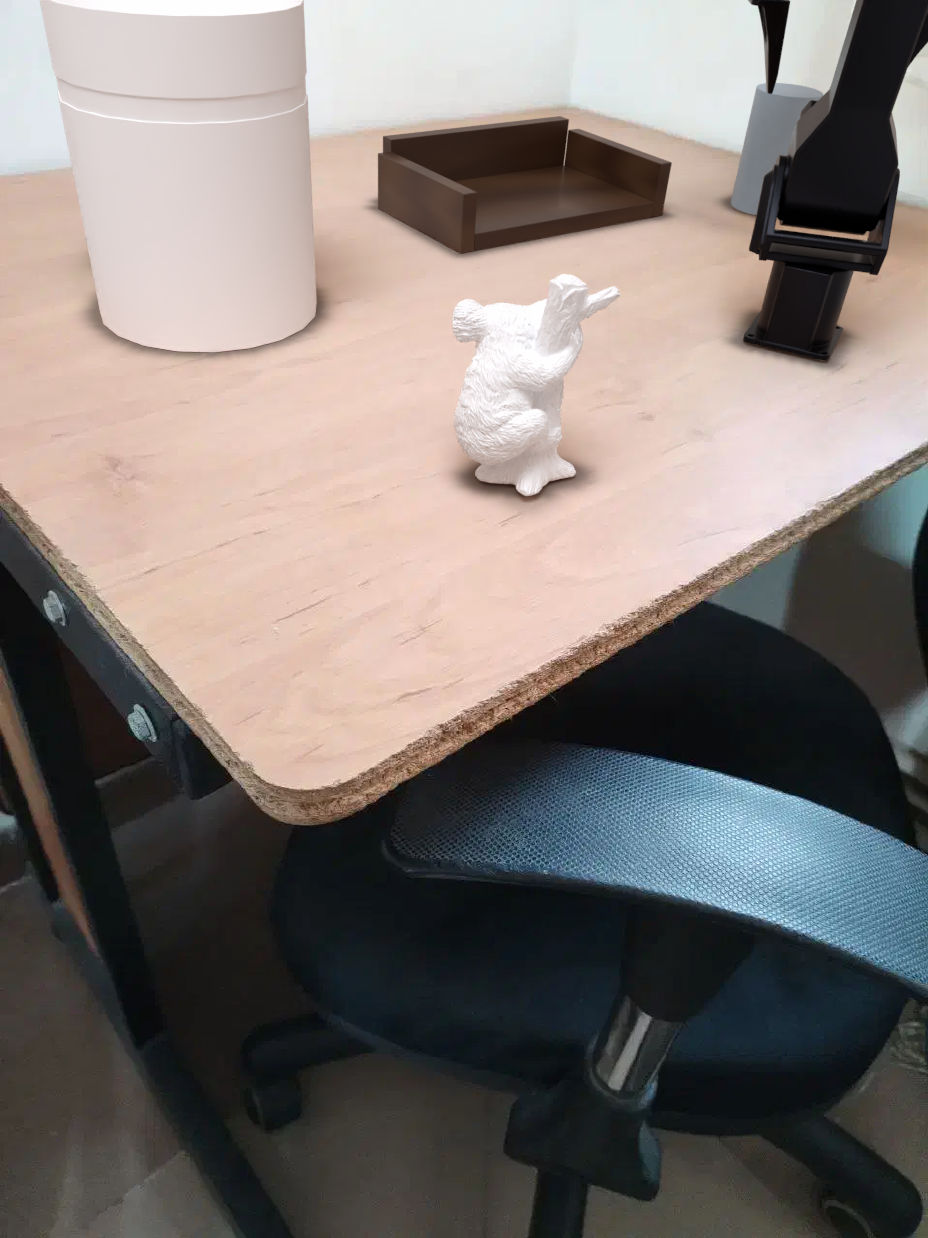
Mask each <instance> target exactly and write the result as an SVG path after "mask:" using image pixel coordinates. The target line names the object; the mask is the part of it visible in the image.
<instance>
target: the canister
mask: <svg viewBox="0 0 928 1238" xmlns="http://www.w3.org/2000/svg"><path fill="white" fill-rule="evenodd" d="M39 3H40V5H39V6H40V9H41V14H42V21H43V25H44V31H45V35H46V40H47V45H48V46H47V47H48V51H49V56H50V61H51V66H52V70H53V72H54V76H55V78H56V83H57V88H58V91H57V97H58V102H59V108H60V114H61V118H62V123H63V128H64V134H65V139H66V145H67V149H68V153H69V159H70V164H71V170H72V174H73V179H74V185H75V186H74V187H75V190H76V195H77V201H78V206H79V211H80V216H81V221H82V227H83V232H84V236H85V237H84V238H85V242H86V247H87V252H88V258H89V262H90V268H91V273H92V278H93V284H94V289H95V293H96V298H97V303H98V308H99V313H100V317H101V320H102V324H103V326H105V327H106V328H107V329H108V330H110V331H111V332H112V333H114V334H115V335H116V336H118V337H119V338H122V339H125V340H127V341H130V342H133V343H135V344H138V345H140V346H143V347H149V348H154V349H161V350H166V351H173V352H184V353H185V352H186V353H188V352H189V353H220V352H221V353H222V352H229V351H236V350H238V351H239V350H247V349H254V348H257V347H261V346H265V345H268V344H272V343H276V342H280V341H282V340H284V339H286V338H288V337H290V336H292V335H295V334H296V333H299V332H300V331H302V330H304V329H305V328H306V327H307V326H308V325H309V323H311V322H312V321H313V320H314V318H315V317H316V314H317V307H318V306H317V304H318V298H317V279H316V256H315V254H316V253H315V232H314V231H315V229H314V210H313V207H314V205H313V186H312V185H313V184H312V161H311V141H310V118H309V96H308V93H307V85H306V83H307V82H306V81H307V79H306V76H307V73H308V72H307V71H308V70H307V47H306V25H305V3H304V0H39Z"/></svg>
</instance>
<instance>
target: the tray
mask: <svg viewBox="0 0 928 1238" xmlns="http://www.w3.org/2000/svg"><path fill="white" fill-rule="evenodd" d="M569 123H570V119H569V118H566V117H564V116H561V115H557V116H549V117H541V118H540V117H539V118H531V119H521V120H514V121H513V120H512V121H505V122H496V123H487V124H477V125H470V126H462V127H461V126H459V127H451V128H443V129H433V130H425V131H416V132H407V133H398V134H389V135H383V136H382V152H378V153H377V209H378V210H380V211H382V212H384V213H386V214H388V215H390V216H391V217H393V218H395V219H397V220H399V221H401V222H402V223H404V224H406V225H407V226H410V227H412V228H413V229H415V230H417V231H418V232H421V233H422V234H424V235H426V236H428V237H429V238H431V239H433V240H435V241H437V242H438V243H441V244H442V245H444V246H446V247H448V248H450V249H452V250H453V251H455V252H457V253H459V254H464V253H470V252H476V251H481V250H486V249H492V248H496V247H497V248H498V247H502V246H509V245H513V244H518V243H524V242H528V241H529V242H530V241H533V240H539V239H544V238H549V237H555V236H560V235H566V234H571V233H576V232H582V231H587V230H593V229H597V228H603V227H607V226H614V225H619V224H623V223H624V224H625V223H629V222H634V221H639V220H644V219H645V220H646V219H649V218H654V217H660V216H663V214H664V207H665V202H666V197H667V190H668V186H669V179H670V174H671V168H672V164H673V163H672V161H669V160H666V159H664V158H661V157H659V156H655V155H652V154H651V153H647V152H644V151H641V150H639V149H636V148H633V147H631V146H628V145H625V144H622V143H619V142H617V141H614V140H611V139H609V138H605V137H604V136H601V135H597V134H595V133H592V132H589V131H586V130H584V129H581V128H572V129H569Z"/></svg>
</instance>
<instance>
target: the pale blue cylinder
mask: <svg viewBox="0 0 928 1238" xmlns="http://www.w3.org/2000/svg"><path fill="white" fill-rule="evenodd" d="M823 95H824V93H823V91H821V90H819V89H817V88H814V87H809V86H806V85H801V84H800V85H799V84H793V83H783V82H776V84H775V87H774V90H773V93H772V94H768V93H767V91H766V82H765V83H759V84H758V85H756V87H755V92H754V96H753V101H752V105H751V109H750V114H749V118H748V123H747V128H746V131H745V136H744V141H743V146H742V149H741V154H740V159H739V163H738V168H737V173H736V176H735V181H734V186H733V189H732V194H731V199H730V206H731V207H732V208H734V209H735V210H737V211H739V212H742V213H745V214H748V215H753V216H756V214H757V209H758V204H759V198H760V193H761V188H762V183H763V178H764V176H765V175H766V174H767V173H768V172H770V171H771V170H772V168H773V165H774V164H776V161H777V158H778V155H786V156H787V152H788V149H789V146H790V142H791V139H792V136H793V132H794V129H795V126H796V123H797V121H798V120H799V117H800V113H801V111H802V110H803V109H804V107H805V106H806V105H807V104H808V102H809V101H810V100H814V101H818V100H819V99H820V98H821V97H822V96H823Z"/></svg>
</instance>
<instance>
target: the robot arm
mask: <svg viewBox="0 0 928 1238" xmlns="http://www.w3.org/2000/svg"><path fill="white" fill-rule="evenodd" d="M747 1H748V2H749V4H750V5H752V6H757V9H758V13H759V17H760V23H761V29H762V36H763V51H764V52H763V53H764V70H765V83H766V91H767V93H768V94H772V93H773V90H774V87H775V84H776V83H777V80H778V76H779V71H780V66H781V59H782V54H783V47H784V42H785V35H786V29H787V23H788V18H789V12H790V11H789V10H790V6H791V0H747ZM848 23H849V24H848V27H847V30H846V33H845V37H844V40H843V44H842V46H841V51H840V53H839V58H838V60H837V61H838V62H837V64H836V66H835V69H834V73H833V78H832V80H831V83H830V87H829V89H828V90H827V91H826V92H825V93H823V96H822V97H821V98H820V99H819V100H818V101H814V100H810V101H809V102H808V104H807V105H806V106H805V107H804V109H803V110H802V111H801V113H800V117H799V120H798V121H797V123H796V126H795V129H794V132H793V136H792V139H791V142H790V146H789V149H788V152H787V156H786V155H778V158H777V161H776V164H774V165H773V168H772V170H771V171H770V172H768V173H767V174H766V175H765V176H764V178H763V183H762V188H761V193H760V198H759V204H758V209H757V214H756V215H755V220H754V224H753V229H752V233H751V238H750V242H749V246H748V252H750V253H753V254H755V255H758V261H763V262H767V261H773V263H772V267H771V270H770V273H769V278H768V282H767V286H766V289H765V293H764V297H763V301H762V305H761V308H760V311H759V312H758V313H757V315H756V317H754V320H752V322H751V324H750V325H749V327H748V328H747V330H746V331H745V332H744V334H743V337H742V341H743V342H744V343H747V344H751V345H755V346H760V347H764V348H767V349H772V350H776V351H780V352H781V351H782V352H784V353H789V354H793V355H797V356H801V357H805V358H809V359H814V360H817V361H823V362H827V361H829V360H830V359H831V357H832V355H833V353H834V350H835V348H836V346H837V344H838V342H839V340H840V338H841V336H842V334H843V331H844V327H843V326H841V325H838V322H839V320H840V315H841V313H842V309H843V306H844V303H845V300H846V297H847V293H848V291H849V287H850V284H851V281H852V278H853V275H854V272H858V273H865V274H869V275H871V276H878V275H879V273H880V271H881V269H882V267H883V264H884V262H885V259H886V257H887V256H888V255H887V254H888V250H889V247H890V239H891V234H892V227H893V221H894V215H895V209H896V203H897V197H898V190H899V184H900V178H901V170H900V168H899V153H898V151H899V150H898V138H897V129H896V124H895V120H894V116H893V115H894V114H893V111H894V107H895V104H896V102H897V100H898V96H899V93H900V91H901V88H902V86H903V82H904V79H905V77H906V74H907V71H908V68H909V67H910V66H911V64H912V63H913V61H914V60H915V58H917V56H918V55H919V53H920V52H921V51H922V50H923V49H924V48H925V46H926V45H927V44H928V0H855V5H854V6H853V10H852V13H851V17H850V21H849V22H848ZM777 220H778V221H779V225H780V226H781V227H782V226H783V227H790V228H798V229H805V230H807V229H808V230H815V231H822V232H830V233H831V232H832V233H838V234H847V235H854V236H862V237H864V235H866V233H867V232H868V236H867V239H859V238H858V239H857V238H850V237H843V236H836V235H835V236H833V235H825V234H817V233H810V232H803V231H802V232H801V231H793V230H786V229H778V228H776V225H777V224H776V223H777Z"/></svg>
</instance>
